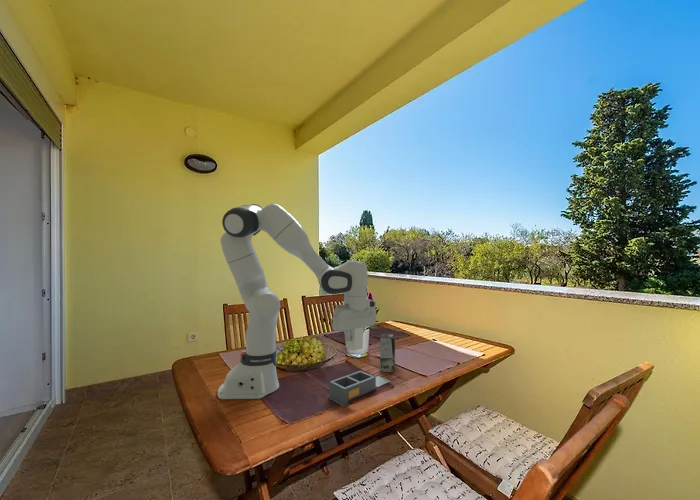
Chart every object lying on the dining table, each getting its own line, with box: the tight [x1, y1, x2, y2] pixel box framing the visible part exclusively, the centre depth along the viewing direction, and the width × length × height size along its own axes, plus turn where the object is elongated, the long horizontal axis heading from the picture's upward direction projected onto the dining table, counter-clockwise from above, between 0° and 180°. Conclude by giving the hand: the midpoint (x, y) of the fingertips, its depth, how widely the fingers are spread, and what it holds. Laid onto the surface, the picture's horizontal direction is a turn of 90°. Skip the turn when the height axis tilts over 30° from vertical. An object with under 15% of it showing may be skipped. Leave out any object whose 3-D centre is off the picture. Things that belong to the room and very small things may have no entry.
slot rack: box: [327, 370, 391, 408], centre depth 114 cm, size 26×9×6 cm, turn 133°
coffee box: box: [379, 332, 396, 373], centre depth 135 cm, size 9×6×16 cm
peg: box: [345, 327, 364, 351], centre depth 113 cm, size 4×4×8 cm
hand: (354, 339), depth 113 cm, fingers closed on peg, 4 cm apart
